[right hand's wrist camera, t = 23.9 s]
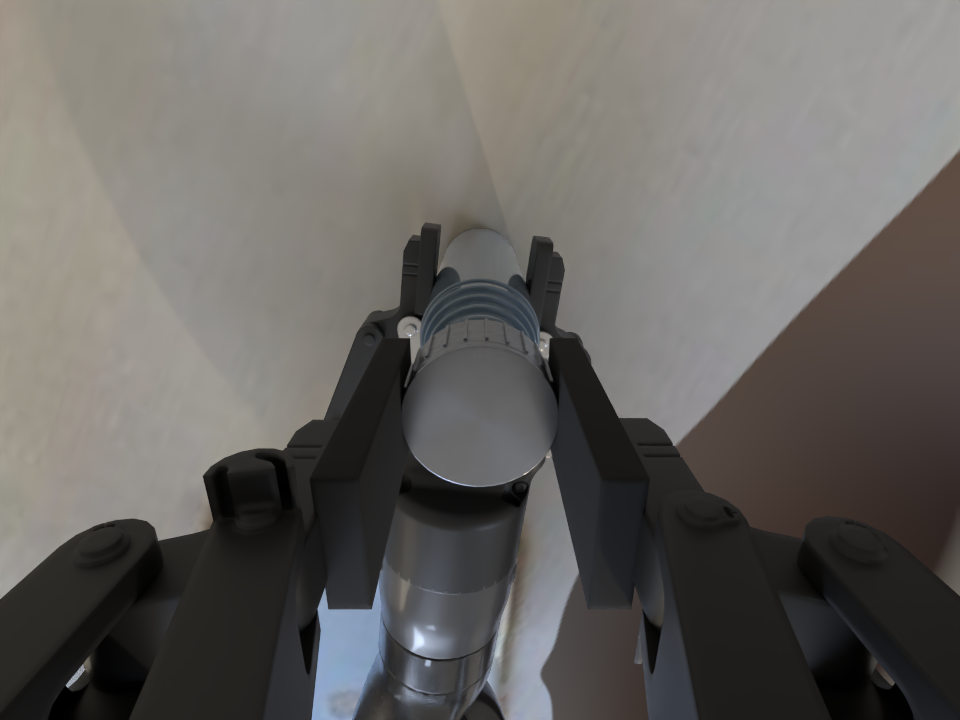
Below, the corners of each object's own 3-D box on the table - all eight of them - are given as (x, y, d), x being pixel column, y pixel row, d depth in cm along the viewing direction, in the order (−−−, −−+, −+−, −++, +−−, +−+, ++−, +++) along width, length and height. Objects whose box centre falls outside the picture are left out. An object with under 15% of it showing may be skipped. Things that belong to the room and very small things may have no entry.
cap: (530, 457, 15) (538, 501, 13) (398, 432, 15) (386, 473, 13) (567, 334, 14) (581, 363, 12) (422, 303, 14) (412, 328, 12)
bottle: (428, 273, 30) (363, 425, 13) (472, 212, 28) (462, 297, 12) (486, 315, 30) (495, 507, 14) (531, 259, 29) (598, 396, 13)
